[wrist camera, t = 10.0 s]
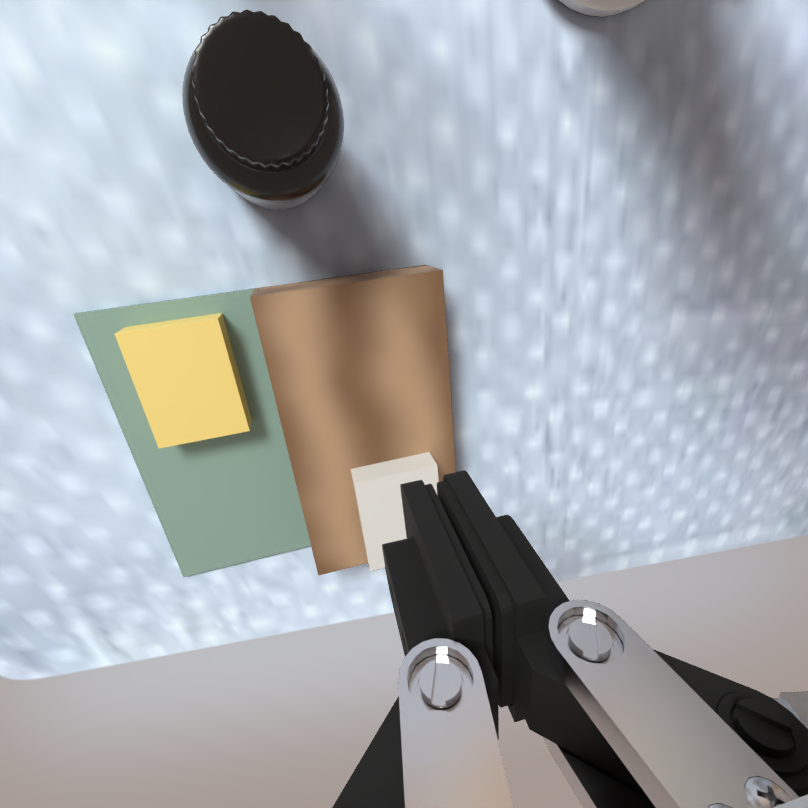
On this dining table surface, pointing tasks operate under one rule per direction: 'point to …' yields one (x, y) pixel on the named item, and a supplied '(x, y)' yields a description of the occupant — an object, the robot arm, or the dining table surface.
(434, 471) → the white flat block
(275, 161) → the supplement bottle
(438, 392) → the board
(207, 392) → the yellow rectangular block
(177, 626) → the dining table surface
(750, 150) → the dining table surface
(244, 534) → the mat
